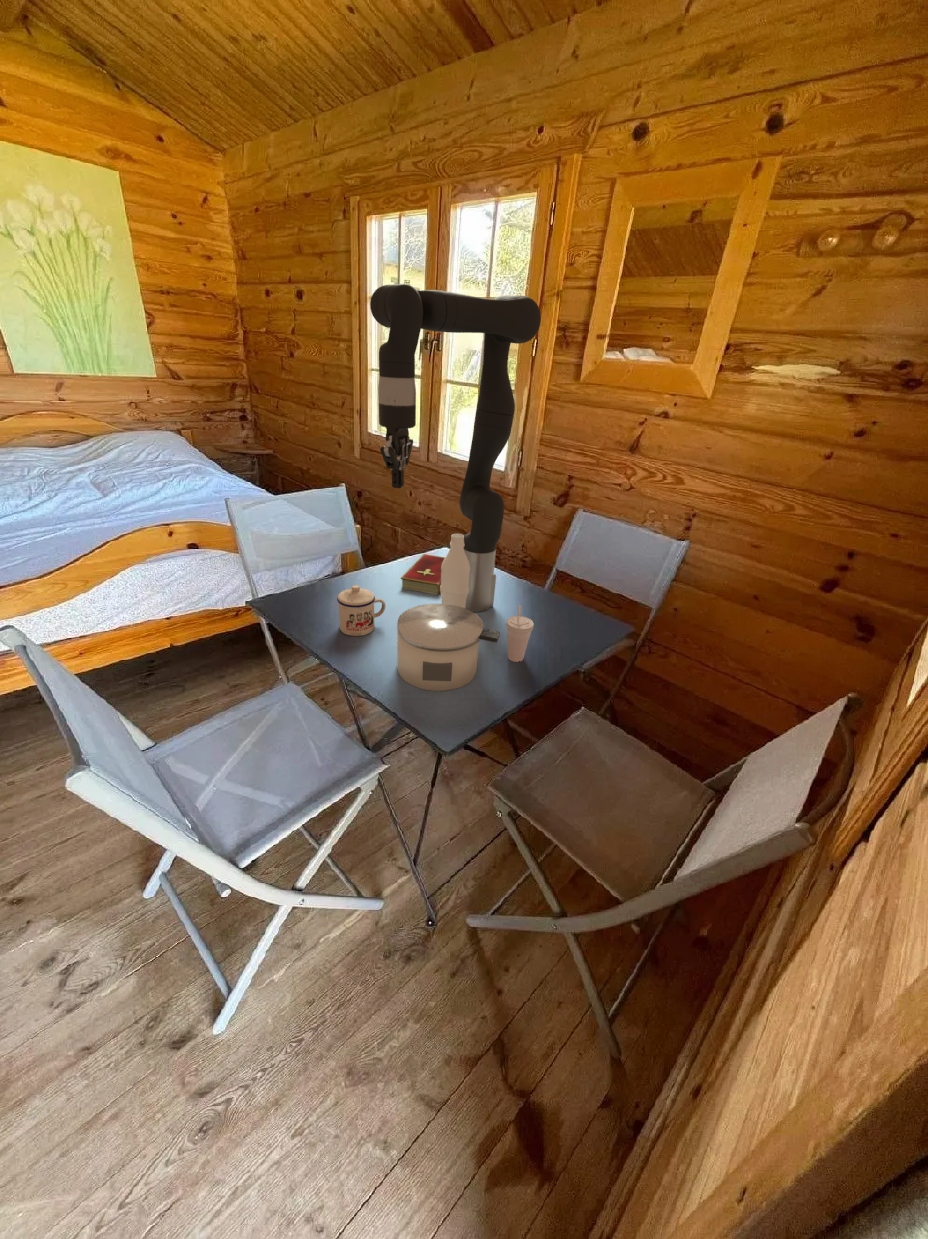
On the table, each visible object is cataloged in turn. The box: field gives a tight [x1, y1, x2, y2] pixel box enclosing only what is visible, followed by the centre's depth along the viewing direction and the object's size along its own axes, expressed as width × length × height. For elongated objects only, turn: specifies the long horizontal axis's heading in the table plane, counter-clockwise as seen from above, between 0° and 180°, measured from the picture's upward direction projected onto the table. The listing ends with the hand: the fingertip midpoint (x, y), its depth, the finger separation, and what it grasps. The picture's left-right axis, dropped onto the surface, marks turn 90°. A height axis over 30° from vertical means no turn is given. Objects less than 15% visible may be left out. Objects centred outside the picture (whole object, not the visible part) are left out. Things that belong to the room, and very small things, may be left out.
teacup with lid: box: [336, 584, 386, 637], centre depth 128 cm, size 12×9×12 cm
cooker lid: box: [396, 603, 501, 652], centre depth 112 cm, size 22×19×2 cm
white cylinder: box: [396, 629, 480, 692], centre depth 115 cm, size 18×19×10 cm
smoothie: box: [505, 604, 535, 663], centre depth 120 cm, size 6×6×14 cm
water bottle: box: [440, 533, 470, 609], centre depth 128 cm, size 7×7×25 cm
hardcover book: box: [400, 553, 446, 596], centre depth 160 cm, size 12×21×4 cm, turn 165°
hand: (397, 487), depth 112 cm, fingers closed
